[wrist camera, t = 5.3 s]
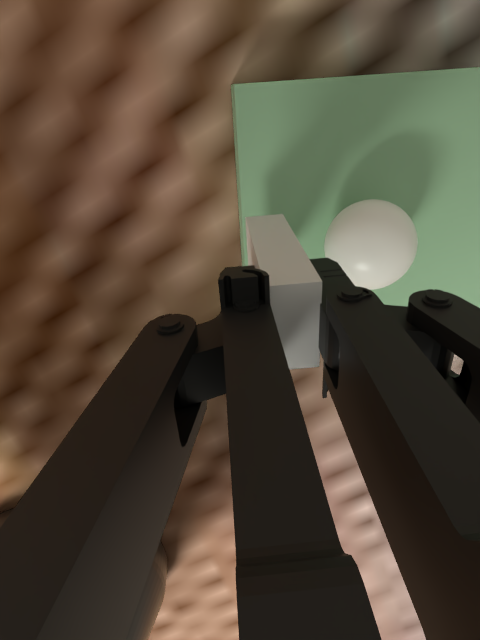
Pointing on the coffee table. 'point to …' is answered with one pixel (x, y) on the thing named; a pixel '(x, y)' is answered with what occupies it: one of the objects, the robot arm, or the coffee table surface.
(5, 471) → the coffee table surface
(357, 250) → the ball
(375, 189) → the mat
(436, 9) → the coffee table surface
